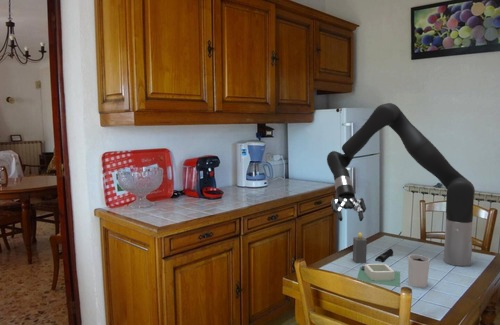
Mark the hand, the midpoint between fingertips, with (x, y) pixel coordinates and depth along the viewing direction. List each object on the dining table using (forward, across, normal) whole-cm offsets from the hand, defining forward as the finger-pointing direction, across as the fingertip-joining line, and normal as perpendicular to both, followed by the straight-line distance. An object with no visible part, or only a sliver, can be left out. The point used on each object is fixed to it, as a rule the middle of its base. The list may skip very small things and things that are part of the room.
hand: (351, 220), depth 163 cm
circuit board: (+29, +2, -9) cm, 30 cm away
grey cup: (+34, +13, -13) cm, 39 cm away
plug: (+18, 0, +2) cm, 19 cm away
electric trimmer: (+15, +12, +6) cm, 20 cm away
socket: (+28, +2, -9) cm, 30 cm away
